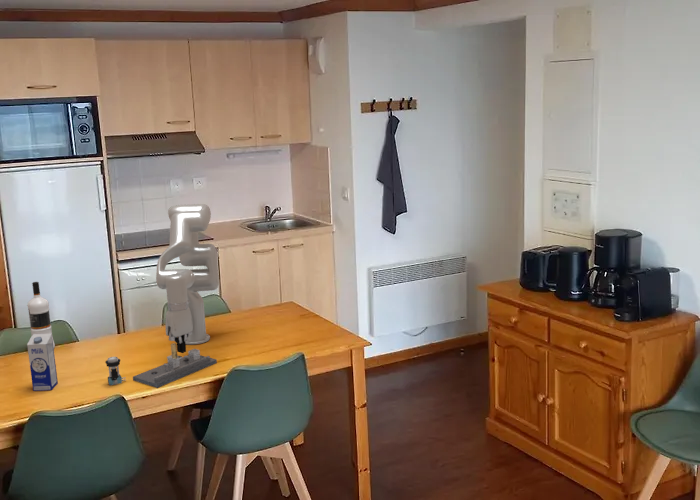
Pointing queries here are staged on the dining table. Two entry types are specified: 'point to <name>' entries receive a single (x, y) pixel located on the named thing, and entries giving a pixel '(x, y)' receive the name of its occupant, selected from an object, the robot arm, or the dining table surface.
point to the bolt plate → (175, 370)
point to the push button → (114, 371)
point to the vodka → (39, 313)
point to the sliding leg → (173, 359)
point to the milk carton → (42, 362)
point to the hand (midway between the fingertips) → (181, 351)
